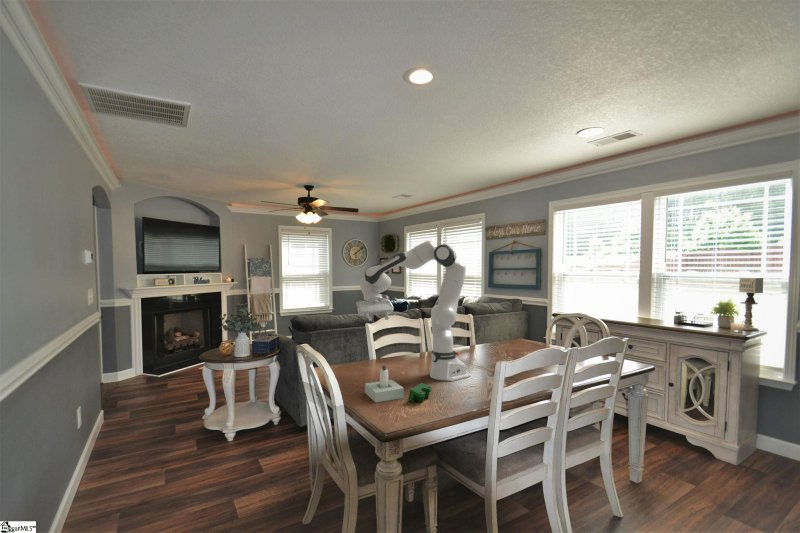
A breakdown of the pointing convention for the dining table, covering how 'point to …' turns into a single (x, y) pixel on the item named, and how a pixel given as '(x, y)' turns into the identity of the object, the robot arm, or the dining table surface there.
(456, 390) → the dining table surface
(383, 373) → the white bottle
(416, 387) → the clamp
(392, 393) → the housing
